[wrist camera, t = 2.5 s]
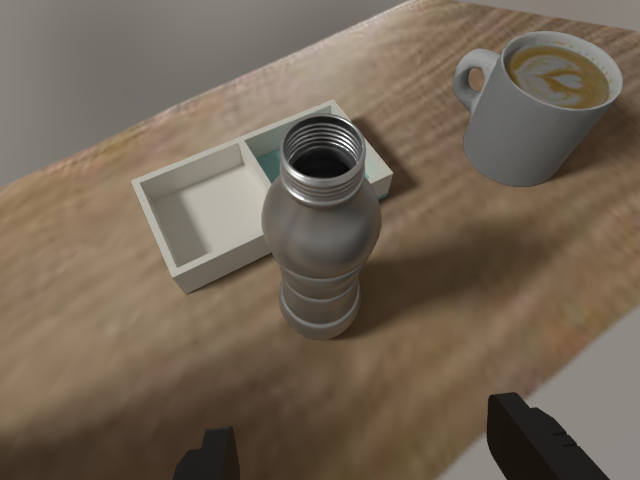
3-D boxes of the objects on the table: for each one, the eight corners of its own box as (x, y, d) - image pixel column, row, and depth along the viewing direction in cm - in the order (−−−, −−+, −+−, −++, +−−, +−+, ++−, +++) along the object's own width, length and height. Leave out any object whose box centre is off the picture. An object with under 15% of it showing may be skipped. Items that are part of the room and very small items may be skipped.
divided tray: (185, 294, 35) (172, 277, 31) (145, 203, 39) (130, 180, 36) (387, 196, 40) (393, 173, 36) (331, 125, 44) (332, 99, 41)
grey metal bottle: (355, 270, 36) (393, 87, 18) (359, 347, 32) (410, 215, 15) (282, 270, 36) (250, 87, 18) (279, 347, 32) (236, 215, 15)
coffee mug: (579, 156, 42) (648, 76, 33) (516, 203, 39) (573, 129, 31) (482, 84, 47) (520, -1, 39) (421, 121, 44) (446, 38, 36)
